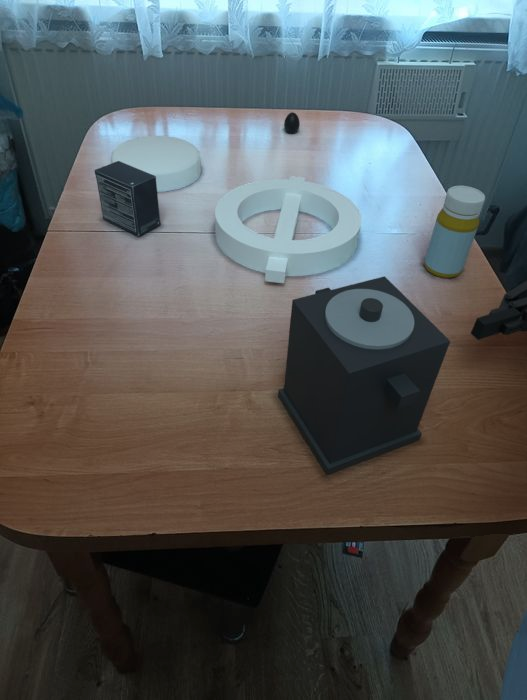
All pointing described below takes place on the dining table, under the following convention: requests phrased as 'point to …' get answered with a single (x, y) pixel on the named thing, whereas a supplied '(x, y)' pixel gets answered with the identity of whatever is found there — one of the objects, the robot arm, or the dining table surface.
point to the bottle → (454, 231)
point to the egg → (291, 123)
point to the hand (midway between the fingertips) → (477, 329)
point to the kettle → (359, 371)
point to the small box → (128, 197)
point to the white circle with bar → (287, 227)
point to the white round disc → (162, 160)
